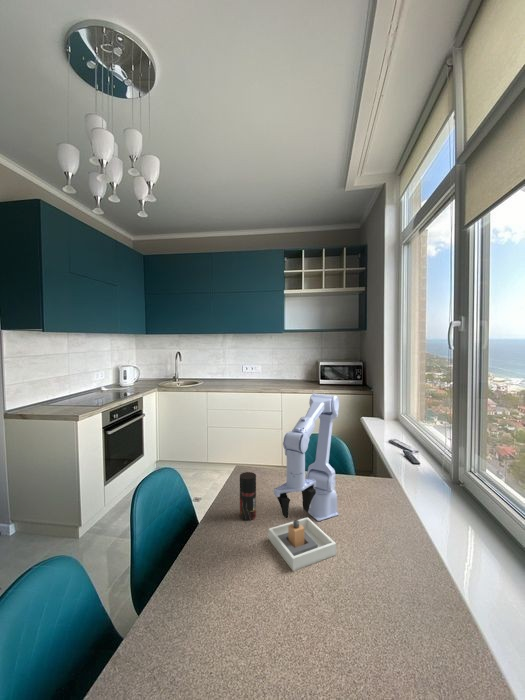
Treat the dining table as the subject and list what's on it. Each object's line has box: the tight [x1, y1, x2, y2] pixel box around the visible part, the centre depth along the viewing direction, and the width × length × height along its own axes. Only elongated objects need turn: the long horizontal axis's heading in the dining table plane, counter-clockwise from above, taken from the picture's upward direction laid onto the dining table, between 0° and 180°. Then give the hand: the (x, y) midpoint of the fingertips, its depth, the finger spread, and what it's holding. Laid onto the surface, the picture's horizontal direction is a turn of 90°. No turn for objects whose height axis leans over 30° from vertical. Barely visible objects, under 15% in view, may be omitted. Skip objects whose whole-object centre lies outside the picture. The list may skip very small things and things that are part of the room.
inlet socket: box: [278, 531, 318, 556], centre depth 93 cm, size 9×9×2 cm
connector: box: [288, 519, 304, 548], centre depth 93 cm, size 4×4×8 cm
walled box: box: [268, 516, 337, 572], centre depth 93 cm, size 15×15×4 cm
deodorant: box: [239, 471, 257, 522], centre depth 110 cm, size 6×6×15 cm
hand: (295, 513), depth 94 cm, fingers open, 7 cm apart
